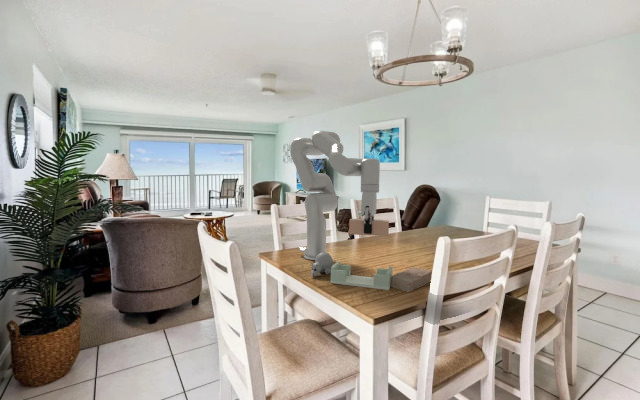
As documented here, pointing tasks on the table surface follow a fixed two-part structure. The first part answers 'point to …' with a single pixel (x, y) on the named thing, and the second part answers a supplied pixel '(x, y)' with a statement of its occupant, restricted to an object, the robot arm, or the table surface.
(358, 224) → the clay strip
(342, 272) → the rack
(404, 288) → the brick
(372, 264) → the table surface
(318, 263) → the chubby cartoon animal
